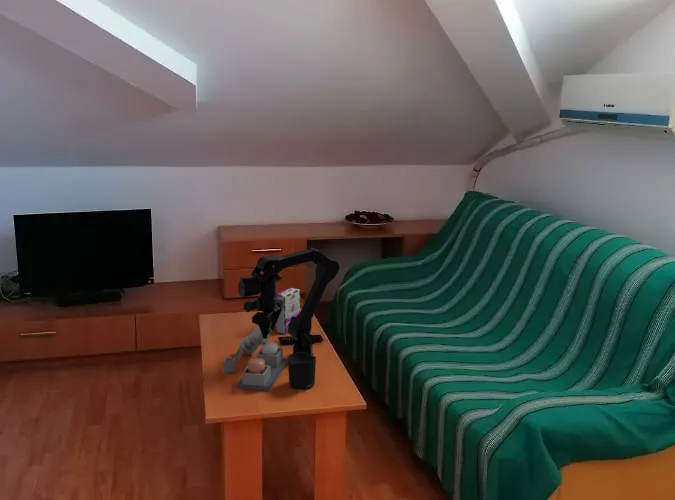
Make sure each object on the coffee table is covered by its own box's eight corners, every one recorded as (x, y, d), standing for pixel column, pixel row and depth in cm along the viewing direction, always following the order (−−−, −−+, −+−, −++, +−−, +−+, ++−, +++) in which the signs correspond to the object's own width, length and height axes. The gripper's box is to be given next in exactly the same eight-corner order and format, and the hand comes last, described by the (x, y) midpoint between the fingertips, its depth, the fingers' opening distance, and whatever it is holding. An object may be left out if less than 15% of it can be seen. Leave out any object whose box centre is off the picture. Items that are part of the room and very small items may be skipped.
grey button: (279, 353, 247) (279, 342, 246) (275, 359, 241) (275, 348, 240) (264, 351, 248) (264, 341, 247) (260, 357, 242) (259, 347, 241)
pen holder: (288, 391, 225) (288, 363, 223) (287, 379, 234) (287, 352, 232) (316, 390, 226) (317, 362, 224) (314, 378, 235) (314, 351, 233)
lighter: (224, 373, 238) (223, 352, 237) (223, 371, 240) (222, 350, 238) (243, 369, 242) (243, 348, 240) (242, 368, 243) (241, 347, 241)
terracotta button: (266, 370, 231) (266, 359, 230) (262, 376, 226) (261, 365, 225) (251, 368, 232) (250, 357, 231) (245, 375, 227) (245, 364, 226)
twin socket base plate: (287, 362, 248) (287, 348, 247) (269, 391, 225) (268, 375, 224) (258, 360, 250) (258, 346, 249) (237, 388, 227) (236, 372, 226)
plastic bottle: (248, 359, 254) (270, 342, 239) (234, 348, 253) (254, 331, 238) (257, 346, 258) (278, 328, 243) (242, 335, 257) (263, 317, 242)
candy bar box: (291, 324, 287) (290, 287, 283) (300, 326, 285) (300, 289, 281) (275, 332, 278) (274, 294, 274) (285, 334, 275) (285, 296, 271)
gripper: (254, 283, 249) (255, 323, 253) (236, 299, 232) (238, 341, 236) (283, 285, 247) (284, 325, 251) (268, 301, 230) (269, 344, 233)
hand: (268, 334), depth 243 cm, fingers open, 8 cm apart
